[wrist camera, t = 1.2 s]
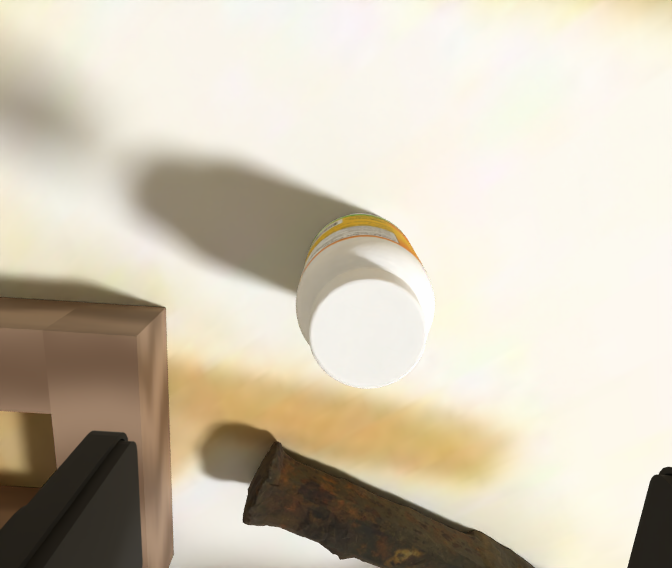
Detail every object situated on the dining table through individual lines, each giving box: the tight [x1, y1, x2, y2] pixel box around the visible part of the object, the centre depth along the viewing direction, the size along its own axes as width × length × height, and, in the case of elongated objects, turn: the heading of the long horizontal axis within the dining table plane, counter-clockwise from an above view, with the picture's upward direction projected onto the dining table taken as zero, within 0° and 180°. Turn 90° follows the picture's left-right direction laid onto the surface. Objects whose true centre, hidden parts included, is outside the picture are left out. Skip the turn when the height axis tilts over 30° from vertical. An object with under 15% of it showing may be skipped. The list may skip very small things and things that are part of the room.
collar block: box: [0, 297, 174, 568], centre depth 28 cm, size 16×16×4 cm
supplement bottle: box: [296, 213, 435, 388], centre depth 22 cm, size 5×5×10 cm
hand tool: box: [243, 442, 535, 568], centre depth 29 cm, size 19×4×5 cm, turn 62°
